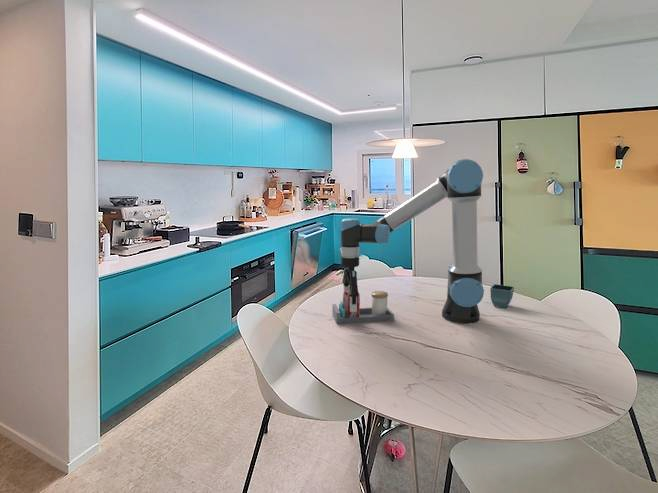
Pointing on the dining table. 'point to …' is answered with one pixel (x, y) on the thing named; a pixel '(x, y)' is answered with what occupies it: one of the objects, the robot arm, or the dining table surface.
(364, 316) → the lane
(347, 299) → the soda can
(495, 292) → the flower pot
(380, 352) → the dining table surface
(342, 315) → the pusher
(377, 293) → the jar
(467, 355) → the dining table surface
